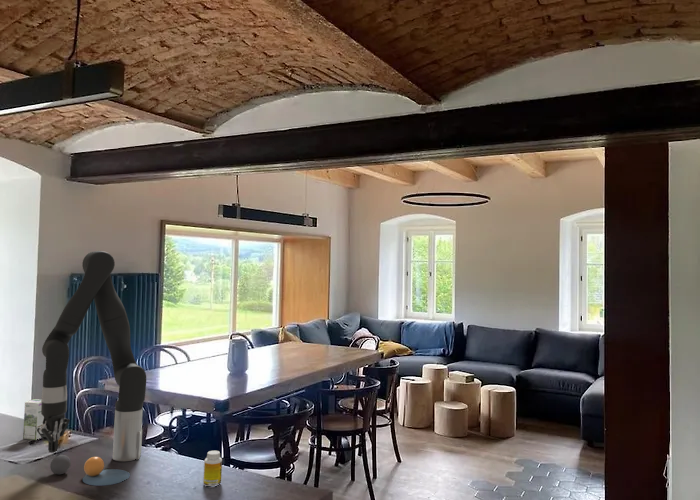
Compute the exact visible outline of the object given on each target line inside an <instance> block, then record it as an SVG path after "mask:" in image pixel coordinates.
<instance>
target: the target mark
mask: <svg viewBox="0 0 700 500" xmlns="http://www.w3.org/2000/svg"><path fill="white" fill-rule="evenodd" d="M130 475H131V474H130V472H128V471H126V470H124V469H116V468H115V469H114V468H108V469H103V471H102V472H101V473H100V474H99V475H97V476H89V475H87V474H85V476H83V477H82V482H83V483H84V484H86V485H88V486H89V485H90V486H97V487H98V486H99V487H101V486H110V485H111V486H112V485H115V484H116V485H117V484H120V483H123V482H125V481H126V479H127V480H128V479H129V478H130ZM124 480H125V481H124ZM122 481H123V482H122Z"/></svg>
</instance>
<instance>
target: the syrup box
mask: <svg viewBox="0 0 700 500" xmlns="http://www.w3.org/2000/svg"><path fill="white" fill-rule="evenodd" d="M41 404H42V399H38V398H37V399H36V398H34V399H29V400H27V401H25V402H24V415H23V416H24V417H23V433H22V439H23V440H27V441H28V440H29V441H30V440H31V441H34V440H35V441H38V440H40V439H42V438H41V436H40V435H39V433H38V432H37V429H38V428H41V427H42V425H43V419H44V416H43V415H42V414H41ZM39 438H40V439H39ZM37 439H38V440H37Z"/></svg>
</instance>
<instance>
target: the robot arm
mask: <svg viewBox="0 0 700 500" xmlns="http://www.w3.org/2000/svg"><path fill="white" fill-rule="evenodd" d="M81 264H82V270H83V272H84V275H83V277H82V281H80V284H79V286H78V287H77V289H76V291H74V293H73V295H72V296H71V297H70V299H69V300H68V302H67V303H66V304H65V307H64V308H63V310H62V311H61V314H60V315H59V318H58V320H57V322H56V324H55V326H54V327H53V328H52V330H51V331H50V333H49V334H48V336H47V337H46V339H45V340H44V342H43V345H42V347H41V351H42V355H43V356H44V357H45V370H44V371H43V375H42V390H41V400H42V404H41V414H42V415H43V416H44V419H43V425H42V427H41V428H38V429H37V432H38V433H39V435H40V436H41V437H42V438H41V439H42V440H43V441H46V442H48V447H47V448H48V452H49V453H51V454H52V453H53V454H54V453H56V452H58V449H59V440H60V439H61V437H63V436H64V434H65V433H66V430H67V428H68V425H69V423H70V418H66V415H65V414H66V413H67V410H68V389H67V386H68V385H67V381H68V380H67V379H68V374H67V371H68V370H67V369H68V366H69V359H70V348H69V344H68V343H69V342H70V340H71V338H72V337H73V336H75V334H76V333H78V330H79V328H80V327H81V325H82V323H83V321H84V318H85V317H86V314H87V313H88V310H89V308H90V306H91V305H92V302H94V306H95V309H96V314H97V317H98V321H99V325H100V328H101V332H102V335H103V338H104V341H105V344H106V346H107V348H108V352H109V354H110V358H111V363H112V370H113V376H114V381H115V382H116V384H117V385H118V386H119V387H118V398H117V400H116V402H115V404H114V405H115V406H114V407H115V408H114V424H113V425H114V426H113V440H112V442H113V445H112V460H113V461H116V462H130V461H135V459H136V460H139V459H141V455H142V445H143V444H142V442H143V427H142V426H143V409H144V403H145V400H146V399H145V398H146V391H147V374H146V371H145V369H144V368H143V367H142V366H140V365H138V363H137V362H136V359H135V357H134V353H133V350H132V347H131V345H132V344H131V327H130V322H129V318H128V314H127V311H126V308H125V306H124V304H123V302H122V300H121V298H120V297H119V294H118V293H117V291H116V289H115V287H114V284H113V283H114V282H113V280H112V275H111V274H112V272H113V271H114V269H115V265H116V264H115V259H114V257H113V255H111V254H110V252H107V251H105V250H104V251H101V250H100V251H99V250H98V251H97V250H96V251H90V252H88V253H87V254H86V255H85V256H84V258H83V259H82V263H81Z"/></svg>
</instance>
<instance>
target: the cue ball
mask: <svg viewBox="0 0 700 500" xmlns="http://www.w3.org/2000/svg"><path fill="white" fill-rule="evenodd" d="M71 464H72V462H71V459H70V457H69V456H68V455H65V454H59V455H56V456H55V457H53V459H52V460H51V462H50V466H49V467H50V468H49V469H50V471H51V472H52V473H53V474H55V475H63V474H65V473H67V472H68V471H69V470H70V468H71Z"/></svg>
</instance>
